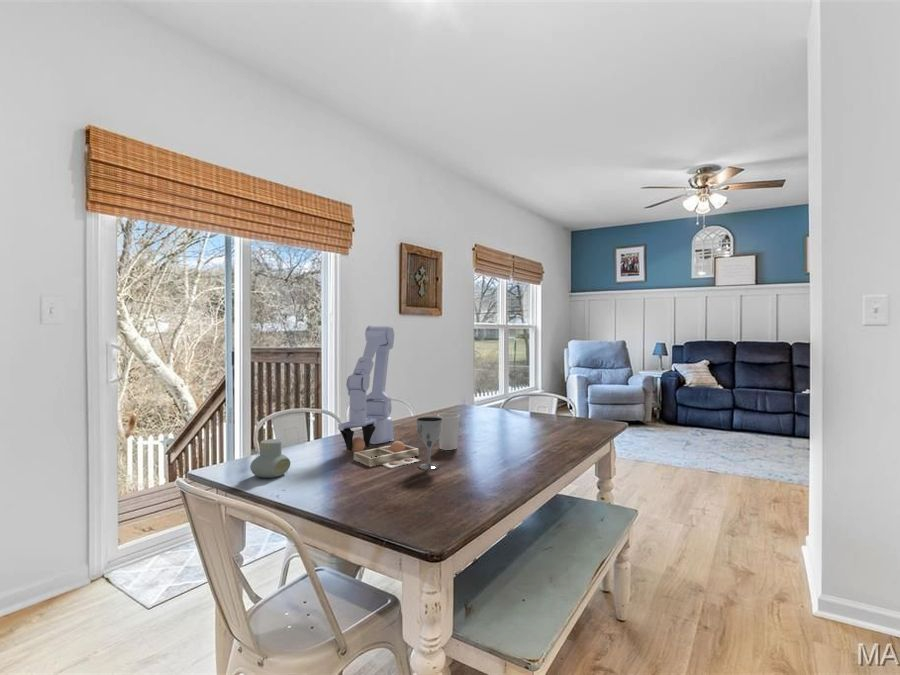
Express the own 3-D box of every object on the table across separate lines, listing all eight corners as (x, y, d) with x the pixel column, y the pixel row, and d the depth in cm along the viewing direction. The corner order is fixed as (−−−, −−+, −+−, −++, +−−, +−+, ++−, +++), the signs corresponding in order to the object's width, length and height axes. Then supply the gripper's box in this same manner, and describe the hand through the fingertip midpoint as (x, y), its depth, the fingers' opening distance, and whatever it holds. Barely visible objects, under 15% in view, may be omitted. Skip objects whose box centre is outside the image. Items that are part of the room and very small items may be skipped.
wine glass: (447, 466, 148) (447, 418, 148) (428, 472, 142) (429, 422, 142) (429, 462, 153) (429, 415, 153) (411, 467, 147) (411, 418, 147)
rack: (400, 450, 168) (400, 443, 168) (429, 459, 156) (429, 451, 156) (353, 460, 155) (353, 452, 155) (380, 470, 143) (381, 462, 143)
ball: (399, 453, 164) (399, 438, 164) (408, 456, 160) (408, 441, 160) (387, 455, 161) (387, 440, 161) (396, 458, 157) (396, 443, 157)
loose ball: (360, 449, 168) (360, 435, 168) (367, 452, 165) (368, 438, 165) (347, 452, 165) (347, 437, 165) (355, 454, 161) (355, 440, 161)
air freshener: (269, 482, 132) (269, 446, 132) (245, 479, 134) (245, 444, 134) (294, 471, 142) (294, 438, 142) (271, 469, 145) (271, 436, 144)
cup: (463, 447, 172) (463, 414, 172) (451, 452, 165) (452, 418, 165) (445, 444, 176) (445, 412, 176) (432, 449, 170) (433, 415, 169)
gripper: (368, 405, 173) (368, 442, 173) (333, 409, 162) (333, 449, 163) (380, 407, 168) (380, 446, 168) (344, 412, 157) (344, 453, 158)
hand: (357, 448), depth 165 cm, fingers open, 6 cm apart
